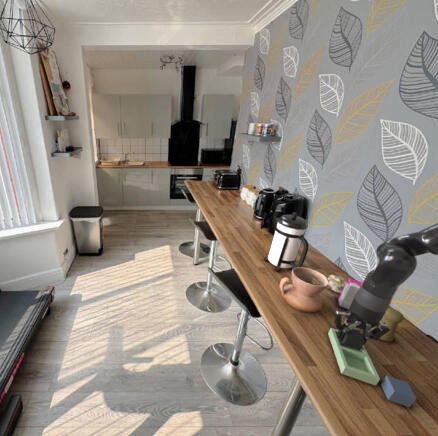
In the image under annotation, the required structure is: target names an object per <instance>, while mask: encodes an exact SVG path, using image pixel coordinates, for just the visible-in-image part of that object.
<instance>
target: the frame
mask: <svg viewBox="0 0 438 436" xmlns="http://www.w3.org/2000/svg"><path fill="white" fill-rule="evenodd" d="M338 331H339V329H337V328H334V327H330V329H329V330H328V333H327V335H328V338H329V341H330V344H331V346H332V349H333V352H334V356H335V359H336V362H337V364H338V367H339V371H340V374H341V375H344V376H347V377H349V378H352V379H355V380H358V381H361V382H363V383H367V384H370V385H373V386H377V385H378V383H379V381H380V380H381V378H380V376H379V374H378V371H377V370H376V367H375V365H374V363H373V361H372V359H371V357H370V355H369V352H368V351H367V348H366V346H365V345H363V346H362V347H361V349H360V350H358V349H355V348H352V347H349V346H345V345H343V343H342V341H341V340H339V338H338V335H337V333H338Z"/></svg>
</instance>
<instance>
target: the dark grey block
mask: <svg viewBox="0 0 438 436" xmlns="http://www.w3.org/2000/svg"><path fill="white" fill-rule="evenodd" d="M361 333H362V331H361V329H360V330H359V329H357V328H354V329H352V330H349V331H348V332H346V335H345V337H344V339H343V341H342V340H341V341H342V343H343V345H345V346H349V347H352V348H355V349H358V350H360V349H361V347H362V346H363V344H364V342H365V340H364V338H363V336H362V334H361Z"/></svg>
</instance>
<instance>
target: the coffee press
mask: <svg viewBox="0 0 438 436" xmlns="http://www.w3.org/2000/svg"><path fill="white" fill-rule="evenodd" d="M308 227H309V225H308V222H307V220H305V219H304V218H303V217H301V216H299V214H298V213H297V212H296V211H295V212H293V213H292V214H283V215H280V216H279V217H278V219H277V224H276V226H275V229H274V233H273V235H272V236H273V237H272V240H271V243H270V247H269V250H268V252H267V253H268V254H267V256H265V257H264V258H263V260H264V261H266V262H268V261H269V263H270V264H272V265H273V266H275V267H276V268H275V271H276V272H279V271H280V268H281V269H291V271H292V270H293V269H294V268H297V267H303V265H304V263H305V261H306V258H307V255H308V251H309V242H308V240H307V239H306V238H305V234H306V230H307V229H308ZM302 245H303V248H302V252H301V254H300V257H299V260H298V263H297V264H296V263H295V262H296V260H297V258H298V255H299V251H300V249H301V247H302Z"/></svg>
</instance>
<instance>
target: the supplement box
mask: <svg viewBox="0 0 438 436" xmlns="http://www.w3.org/2000/svg"><path fill="white" fill-rule="evenodd" d="M346 281H347V283H346V285H345V287H344V289H343V291H342V293H340V295H339V296H338V299H337V301H338V302H337V303H338V307H339V308H340V309H344V310H346V311H348V310H349V308H350V305H351V303H352V301H353V299H354V297H355V294H356V293H357V291H358V289H359V288H360V287H361V286H362V284H363V282H364V281H360V280H356V279H354V278H350V277H349V278H348V279H347V280H346Z"/></svg>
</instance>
